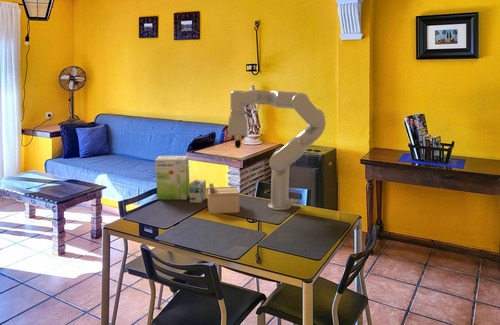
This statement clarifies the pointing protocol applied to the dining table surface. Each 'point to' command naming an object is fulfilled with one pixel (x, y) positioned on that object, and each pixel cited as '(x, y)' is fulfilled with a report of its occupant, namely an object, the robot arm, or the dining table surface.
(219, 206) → the carton
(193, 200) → the light bulb box
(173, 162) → the green product box
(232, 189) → the lid
